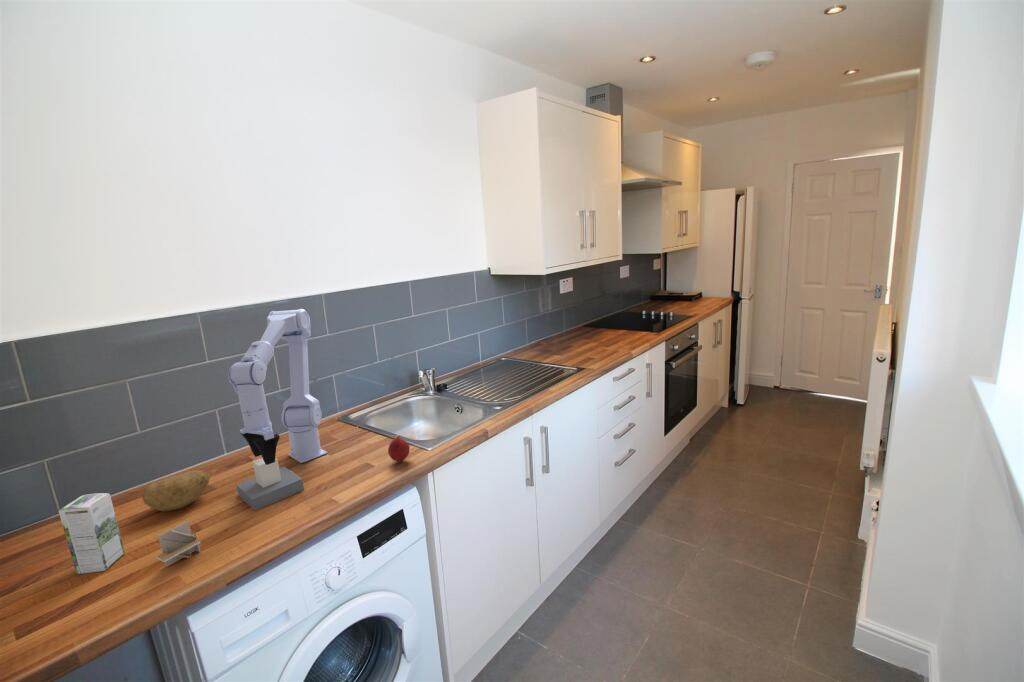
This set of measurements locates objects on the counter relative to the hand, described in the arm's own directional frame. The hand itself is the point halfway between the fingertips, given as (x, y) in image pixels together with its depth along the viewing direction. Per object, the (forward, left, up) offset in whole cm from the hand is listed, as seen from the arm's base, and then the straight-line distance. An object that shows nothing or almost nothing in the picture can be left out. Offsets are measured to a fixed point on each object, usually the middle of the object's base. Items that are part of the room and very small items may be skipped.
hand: (264, 459), depth 121 cm
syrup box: (+1, -34, -10) cm, 35 cm away
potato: (-13, -17, -10) cm, 23 cm away
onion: (+14, +30, -10) cm, 34 cm away
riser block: (0, 0, -9) cm, 9 cm away
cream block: (0, 0, -6) cm, 6 cm away
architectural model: (+14, -22, -10) cm, 28 cm away
